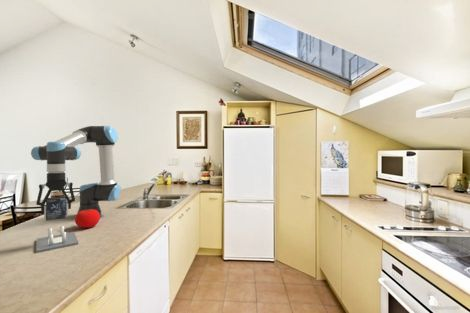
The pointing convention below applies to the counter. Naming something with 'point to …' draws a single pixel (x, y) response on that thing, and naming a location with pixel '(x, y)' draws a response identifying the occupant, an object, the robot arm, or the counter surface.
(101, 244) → the counter surface
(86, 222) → the tomato
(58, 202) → the box
